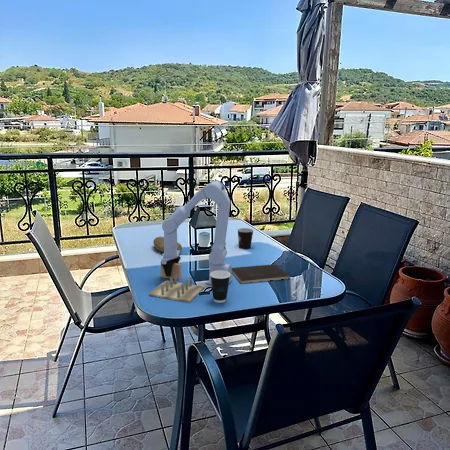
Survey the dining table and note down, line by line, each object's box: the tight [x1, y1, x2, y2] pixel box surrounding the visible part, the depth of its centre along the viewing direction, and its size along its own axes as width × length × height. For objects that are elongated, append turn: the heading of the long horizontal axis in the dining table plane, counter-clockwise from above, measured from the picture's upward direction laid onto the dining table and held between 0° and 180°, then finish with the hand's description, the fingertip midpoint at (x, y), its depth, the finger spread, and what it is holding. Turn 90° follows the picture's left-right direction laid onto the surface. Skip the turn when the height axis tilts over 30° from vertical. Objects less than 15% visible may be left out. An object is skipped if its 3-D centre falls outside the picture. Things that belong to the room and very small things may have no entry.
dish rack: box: [148, 274, 205, 304], centre depth 168 cm, size 18×15×5 cm
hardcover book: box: [232, 263, 290, 284], centre depth 189 cm, size 16×23×2 cm
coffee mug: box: [237, 227, 254, 250], centre depth 229 cm, size 12×9×10 cm
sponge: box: [153, 236, 183, 253], centre depth 219 cm, size 13×8×20 cm
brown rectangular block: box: [160, 263, 182, 281], centre depth 183 cm, size 9×2×7 cm, turn 71°
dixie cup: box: [210, 271, 230, 304], centre depth 161 cm, size 8×8×11 cm
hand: (171, 274), depth 183 cm, fingers open, 5 cm apart
